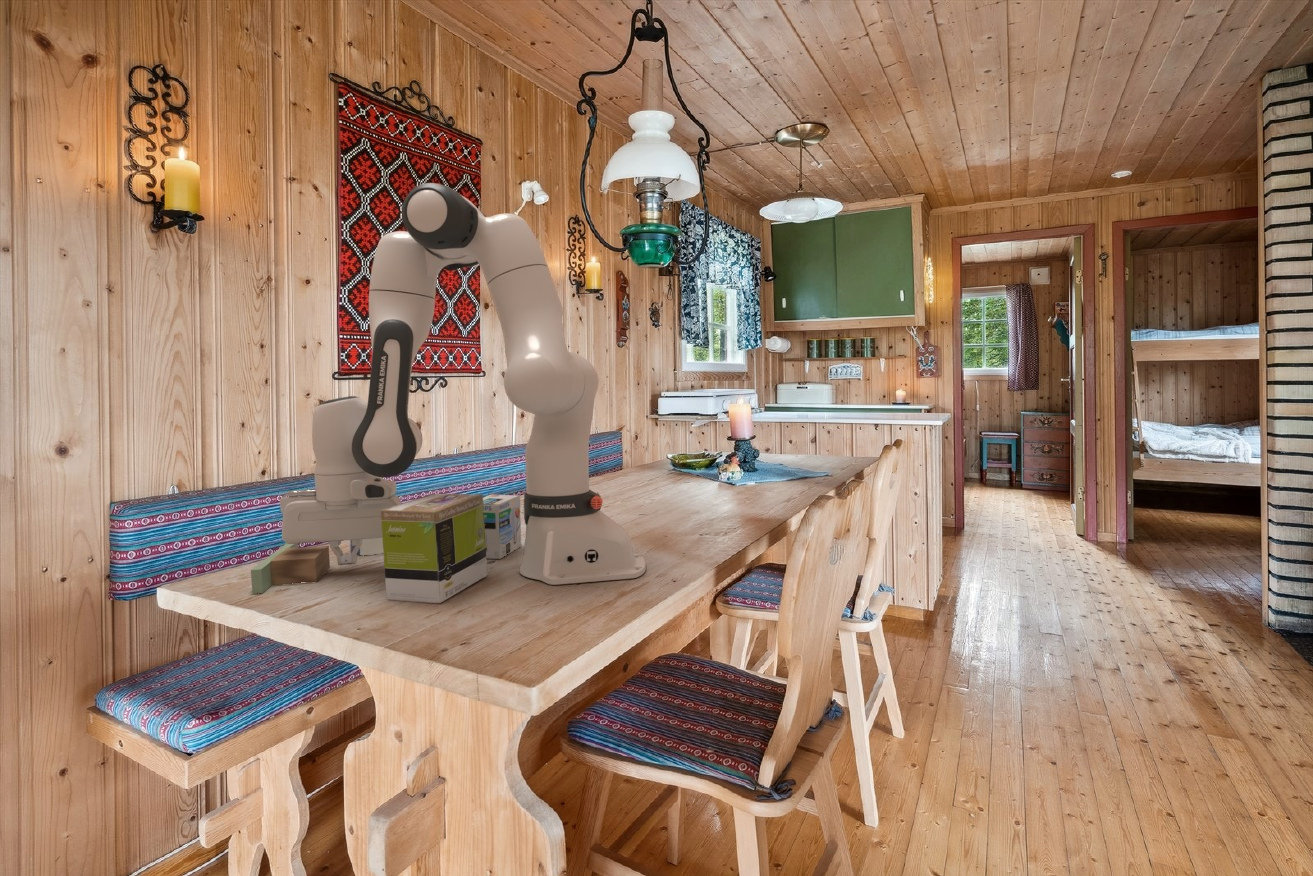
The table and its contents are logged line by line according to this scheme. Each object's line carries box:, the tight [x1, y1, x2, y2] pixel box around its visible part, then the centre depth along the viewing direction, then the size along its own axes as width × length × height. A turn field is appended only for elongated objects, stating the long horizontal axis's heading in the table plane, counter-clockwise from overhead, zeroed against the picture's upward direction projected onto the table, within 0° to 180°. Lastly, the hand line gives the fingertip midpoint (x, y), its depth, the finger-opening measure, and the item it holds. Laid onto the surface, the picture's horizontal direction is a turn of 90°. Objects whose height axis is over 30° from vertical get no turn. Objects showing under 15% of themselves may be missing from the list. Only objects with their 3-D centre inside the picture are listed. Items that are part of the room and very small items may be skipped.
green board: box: [250, 542, 299, 595], centre depth 121 cm, size 2×20×4 cm, turn 12°
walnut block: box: [270, 545, 331, 586], centre depth 121 cm, size 7×9×4 cm
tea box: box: [381, 493, 488, 604], centre depth 112 cm, size 15×10×15 cm, turn 165°
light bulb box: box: [483, 494, 522, 560], centre depth 136 cm, size 11×7×11 cm, turn 168°
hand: (347, 564), depth 123 cm, fingers closed
